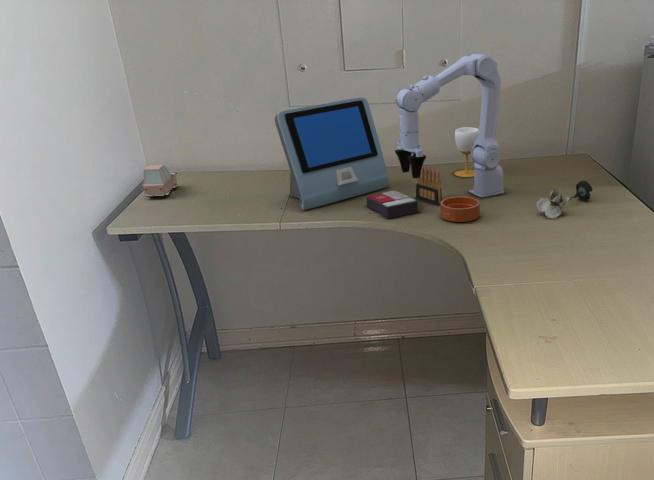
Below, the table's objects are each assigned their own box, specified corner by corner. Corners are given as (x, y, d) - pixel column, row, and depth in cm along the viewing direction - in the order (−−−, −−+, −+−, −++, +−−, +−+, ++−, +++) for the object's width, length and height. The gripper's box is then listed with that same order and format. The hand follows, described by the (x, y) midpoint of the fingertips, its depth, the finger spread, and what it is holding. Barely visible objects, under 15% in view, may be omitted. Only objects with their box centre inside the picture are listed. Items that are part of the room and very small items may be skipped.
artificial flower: (596, 206, 207) (604, 179, 200) (548, 230, 197) (555, 203, 190) (575, 193, 212) (583, 166, 204) (527, 216, 201) (533, 189, 194)
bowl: (466, 207, 206) (466, 194, 203) (486, 218, 196) (487, 204, 194) (433, 214, 201) (433, 200, 199) (453, 226, 192) (453, 211, 189)
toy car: (182, 186, 235) (176, 158, 230) (169, 199, 222) (162, 170, 217) (156, 187, 235) (150, 159, 230) (142, 200, 222) (135, 171, 217)
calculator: (395, 189, 212) (418, 198, 201) (396, 202, 214) (418, 212, 203) (365, 195, 208) (387, 205, 196) (366, 208, 210) (388, 218, 198)
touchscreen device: (307, 212, 205) (294, 115, 191) (276, 201, 218) (261, 109, 204) (391, 188, 225) (385, 98, 210) (358, 179, 238) (350, 94, 224)
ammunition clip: (442, 203, 210) (441, 167, 204) (438, 205, 209) (437, 168, 202) (419, 197, 216) (418, 161, 210) (415, 198, 215) (414, 162, 209)
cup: (451, 172, 241) (451, 128, 233) (473, 169, 243) (474, 126, 235) (459, 178, 234) (459, 133, 225) (482, 175, 236) (483, 131, 228)
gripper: (387, 128, 201) (390, 171, 208) (407, 137, 190) (409, 182, 197) (408, 125, 204) (409, 168, 211) (428, 134, 193) (429, 178, 199)
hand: (410, 174), depth 204 cm, fingers open, 7 cm apart
